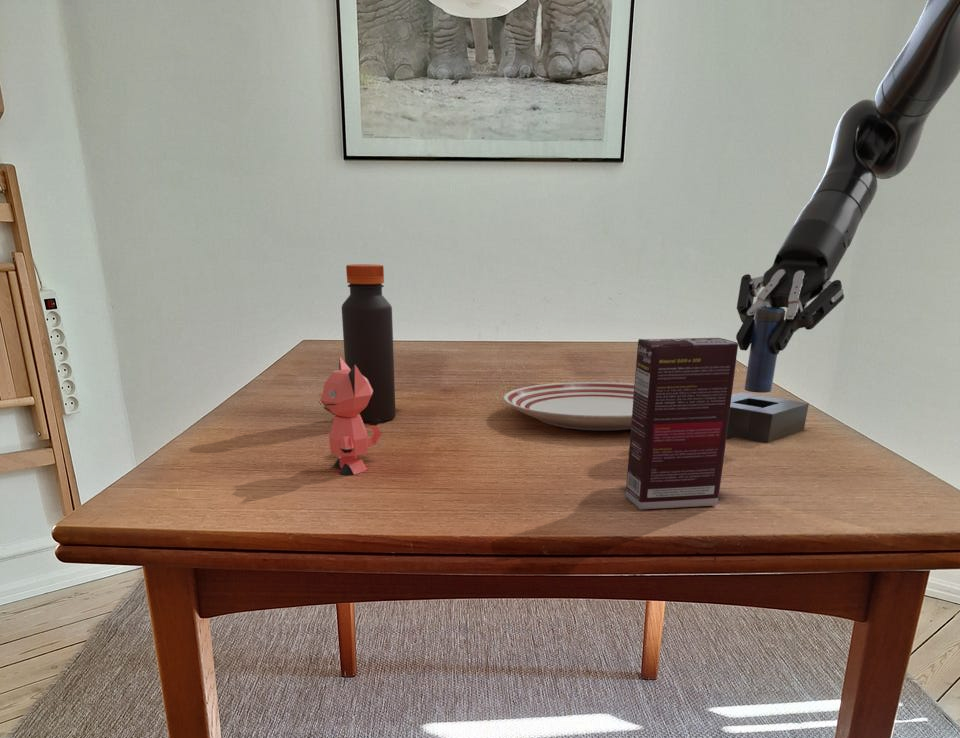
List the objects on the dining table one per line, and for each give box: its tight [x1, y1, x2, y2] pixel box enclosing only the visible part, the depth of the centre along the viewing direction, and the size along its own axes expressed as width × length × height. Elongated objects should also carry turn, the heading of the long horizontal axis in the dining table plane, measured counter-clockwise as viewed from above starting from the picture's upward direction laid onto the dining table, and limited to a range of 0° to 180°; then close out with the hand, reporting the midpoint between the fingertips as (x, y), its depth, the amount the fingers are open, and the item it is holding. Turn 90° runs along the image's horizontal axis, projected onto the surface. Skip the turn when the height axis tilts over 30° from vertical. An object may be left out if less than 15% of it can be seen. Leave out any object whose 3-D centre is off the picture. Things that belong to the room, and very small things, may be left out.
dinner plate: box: [503, 381, 635, 432], centre depth 121 cm, size 27×27×3 cm
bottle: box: [341, 263, 396, 424], centre depth 115 cm, size 7×7×20 cm
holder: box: [726, 391, 810, 444], centre depth 111 cm, size 10×10×4 cm
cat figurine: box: [318, 355, 383, 476], centre depth 94 cm, size 7×7×12 cm
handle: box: [744, 307, 786, 394], centre depth 107 cm, size 4×4×10 cm
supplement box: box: [625, 337, 739, 511], centre depth 83 cm, size 9×5×16 cm, turn 100°
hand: (757, 347), depth 106 cm, fingers closed on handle, 3 cm apart
